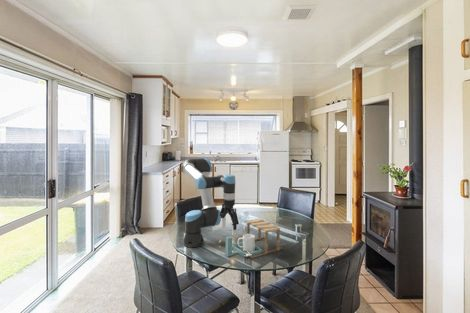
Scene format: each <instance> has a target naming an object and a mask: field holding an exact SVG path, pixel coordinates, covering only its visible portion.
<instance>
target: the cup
mask: <svg viewBox="0 0 470 313" xmlns="http://www.w3.org/2000/svg"><path fill="white" fill-rule="evenodd" d="M255 239H256V235H255V234H253V233H249V234H247V233H245V234H243V235H242V237H239V238H238V239H237V242H236V243H237V244H238V247H237V248H239V249H242V251H243V252H244V253H246V252H245V251H248V252H253V251H256V250H255V245H256V241H255ZM241 240H242V241H243V245H242V246H240V245H239V242H240V241H241Z"/></svg>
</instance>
